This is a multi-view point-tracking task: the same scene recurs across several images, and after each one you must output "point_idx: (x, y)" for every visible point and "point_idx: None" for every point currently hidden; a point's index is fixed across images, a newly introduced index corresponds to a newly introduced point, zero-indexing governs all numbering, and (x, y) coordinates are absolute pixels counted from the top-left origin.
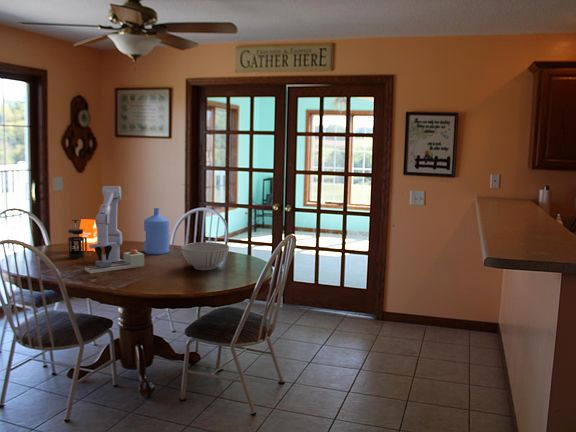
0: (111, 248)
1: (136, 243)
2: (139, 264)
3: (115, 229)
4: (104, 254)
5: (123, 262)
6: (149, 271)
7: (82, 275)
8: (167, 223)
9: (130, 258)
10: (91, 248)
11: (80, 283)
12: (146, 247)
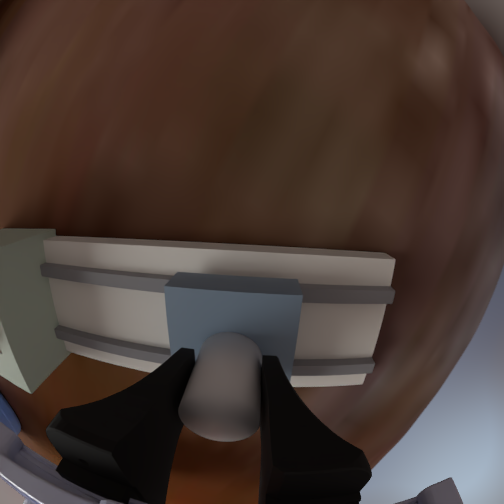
0: (59, 413)
1: None
2: (8, 232)
3: None
4: (201, 412)
5: (66, 331)
6: (30, 82)
7: (448, 235)
8: None
9: (5, 256)
10: (441, 482)
11: (494, 69)
12: (1, 421)
